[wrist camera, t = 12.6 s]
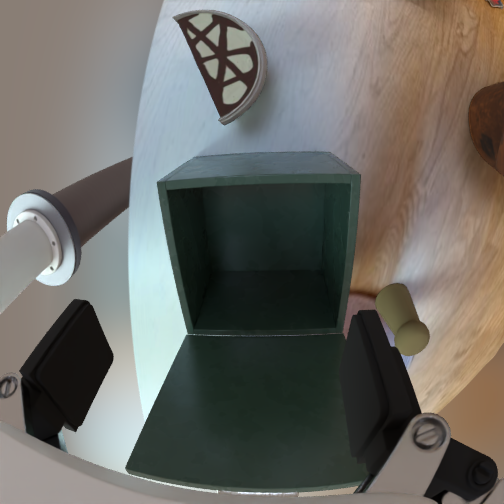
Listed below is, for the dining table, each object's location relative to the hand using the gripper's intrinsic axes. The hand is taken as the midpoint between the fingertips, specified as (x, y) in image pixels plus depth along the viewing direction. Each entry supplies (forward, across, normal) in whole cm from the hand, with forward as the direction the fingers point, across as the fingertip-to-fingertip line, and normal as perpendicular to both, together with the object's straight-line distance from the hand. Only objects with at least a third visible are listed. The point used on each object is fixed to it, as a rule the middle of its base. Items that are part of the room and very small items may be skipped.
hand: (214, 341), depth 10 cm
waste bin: (+28, -1, +6) cm, 29 cm away
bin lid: (+6, -1, +12) cm, 14 cm away
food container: (+28, +2, -13) cm, 31 cm away
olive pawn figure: (+28, -21, +20) cm, 40 cm away
